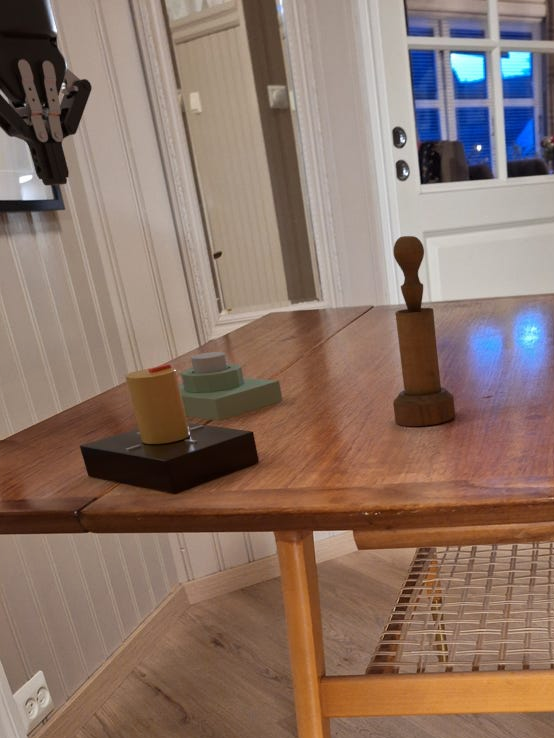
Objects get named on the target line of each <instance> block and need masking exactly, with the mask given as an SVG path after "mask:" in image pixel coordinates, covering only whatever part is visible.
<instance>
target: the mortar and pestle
mask: <svg viewBox="0 0 554 738" xmlns="http://www.w3.org/2000/svg"><path fill="white" fill-rule="evenodd" d="M424 256H425V248H424V245H423V243H422V241H421V240H420V239H419V238H418V237H417V236H413V235H404V236H400V237H398V238H397V239H396V241H395V242H394V245H393V257H394V260H395V262H396V263H397V265H398V267H399V268H400V271H402V273H403V277H404V280H403V284H402V285H400V291H401V295H402V297H403V300H404V304H405V306H406V308H405V309H400V310H399V309H398V310H396V311H395V322H396V323H395V324H396V331H397V339H398V347H399V357H400V365H401V375H402V381H403V382H402V383H403V390H402V391H400V392H399V393H398V395H397V396H396V397H395V398H394V399H393V402H392V403H393V404H392V405H393V413H394V422H395V423H396V424H397V425H400V426H404V427H424V426H426V427H427V426H433V425H438V424H439V425H440V424H442V423H446V422H449V421H451V420H453V419H454V418H455V417H456V407H455V399H454V394H453V393H452V392H450V391H449V390H448V389H447V388H446V387H442V383H441V374H440V368H439V367H440V366H439V365H440V364H439V356H438V355H439V354H438V346H437V345H438V344H437V337H436V336H437V335H436V325H435V323H436V322H435V312H434V308H432V307H422V302H423V298H424V297H423V296H424V284H423V283H421V280H420V277H419V270H420V267H421V265H422V263H423V260H424Z"/></svg>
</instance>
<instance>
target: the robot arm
mask: <svg viewBox="0 0 554 738" xmlns="http://www.w3.org/2000/svg"><path fill="white" fill-rule="evenodd" d="M52 8H53V7H52V3H51V1H50V0H0V91H1V92H2V94H3V95H4V96H5V97H6V98H7V100H6V99H5V98H4V96H3V95H2V94H1V93H0V129H1V130H2V131H3V132H4V133H5V134H6V135H7V136H8V137H10V138H17V139H19V140H21V141H24V143H26V145H27V146H28V149H29V152H30V156H31V161H32V163H33V167H34V171H35V174H36V176H37V178H38V179H39V180H41V181H42V184H43V185H44V186H60V185H66V184H67V183H68V179H67V178H69V177H70V176H69V175H70V171H69V167H68V163H67V159H66V156H65V152H64V148H63V141H64V139H66V138H67V137H70V136H75V135H76V134H77V131H78V128H79V126H80V123H81V120H82V118H83V114H84V112H85V109H86V106H87V104H88V101H89V98H90V95H91V92H92V89H93V87H92V84H91V82H90V81H89V80H88V79H86V78H84V79H83V78H82V79H80V78H79V77H78V76H77V75H76V74H75V73H74V72H72V71H71V70H70V69H68V65H67V61H66V58H65V57H64V55H63V54H62V52H61V50H60V48H59V45H58V29H57V25H56V21H55V15H54V13H53V12H54V11H53V9H52ZM60 92H61V93H62V99H61V102H60V99H59V95H60Z"/></svg>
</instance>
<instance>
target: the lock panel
mask: <svg viewBox="0 0 554 738" xmlns="http://www.w3.org/2000/svg"><path fill="white" fill-rule="evenodd" d="M188 426H189V431H190V436H189V437H187V438H185V439H182V440H179V441H175V442H171V443H164V444H146V443H143V442H142V440H141V436H140V432H139V428H138V427H137V428H134V429H131V430H127V431H125V432H120V433H117V434H114V435H110V436H107V437H104V438H103V437H102V438H100V439H96V440H93V441H90V442H87V443H84V444H83V443H82V444H80V445H79V449H80V453H81V456H82V460H83V463H84V466H85V470H86V472H87V476H88V477H90V478H91V477H92V478H97V479H101V480H104V481H105V480H106V481H111V482H116V483H119V484H120V483H121V484H125V485H131V486H135V487H140V488H144V489H150V490H155V491H160V492H164V493H170V494H177V493H180V492H182V491H183V492H184V491H185V490H188V489H190V488H194V487H197V486H199V485H202V484H205V483H207V482H210V481H212V480H215V479H217V478H221V477H224V476H225V475H229V474H231V473H234V472H237V471H239V470H243V469H245V468H247V467H250V466H253V465H256V464H259V462H260V460H259V454H258V449H257V445H256V443H257V442H256V439H255V433H254V431H253V430H252V431H251V430H244V429H237V428H230V427H223V426H216V425H215V426H214V425H207V424H199V423H192V422H188Z"/></svg>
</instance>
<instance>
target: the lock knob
mask: <svg viewBox="0 0 554 738" xmlns="http://www.w3.org/2000/svg"><path fill="white" fill-rule="evenodd" d="M124 377H125V381H126V385H127V389H128V393H129V397H130V401H131V405H132V409H133V413H134V416H135V420H136V424H137V428H139V432H140V436H141V440H142V442H143V443H146V444H164V443H171V442H175V441H179V440H182V439H185V438H187V437H189V436H190V431H189V426H188V423H189V422H188V417H186V413H185V409H184V404H183V400H182V396H181V391H180V387H179V384H180V382H179V379H178V373H177V370H176V368H174V367H172V366H171V364H167V363H166V364H162V365H159V366H154V367H150V368H145V369H140V370H135V371H132V372H129V373H127V374H125V376H124Z"/></svg>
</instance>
